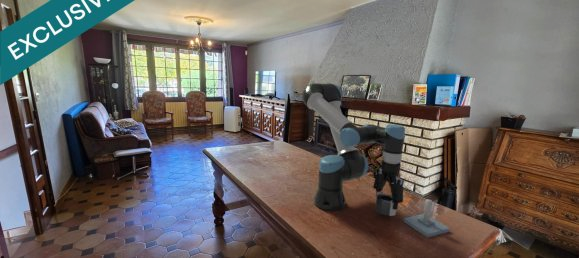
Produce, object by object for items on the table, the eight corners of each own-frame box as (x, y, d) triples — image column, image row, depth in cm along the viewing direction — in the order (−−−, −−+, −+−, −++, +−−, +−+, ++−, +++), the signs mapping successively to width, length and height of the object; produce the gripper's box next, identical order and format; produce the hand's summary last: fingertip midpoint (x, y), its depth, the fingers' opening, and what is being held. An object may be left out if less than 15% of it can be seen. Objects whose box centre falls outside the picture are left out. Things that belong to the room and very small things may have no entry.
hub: (384, 216, 105) (385, 203, 104) (371, 207, 112) (373, 195, 111) (398, 213, 108) (400, 201, 106) (385, 204, 115) (387, 192, 114)
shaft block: (427, 237, 96) (431, 210, 94) (403, 221, 107) (406, 196, 105) (449, 231, 100) (453, 205, 98) (424, 216, 111) (427, 192, 109)
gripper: (418, 169, 97) (410, 221, 102) (381, 153, 116) (376, 197, 121) (403, 171, 94) (396, 224, 99) (368, 154, 113) (363, 200, 118)
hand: (385, 209), depth 110 cm, fingers closed on hub, 8 cm apart
